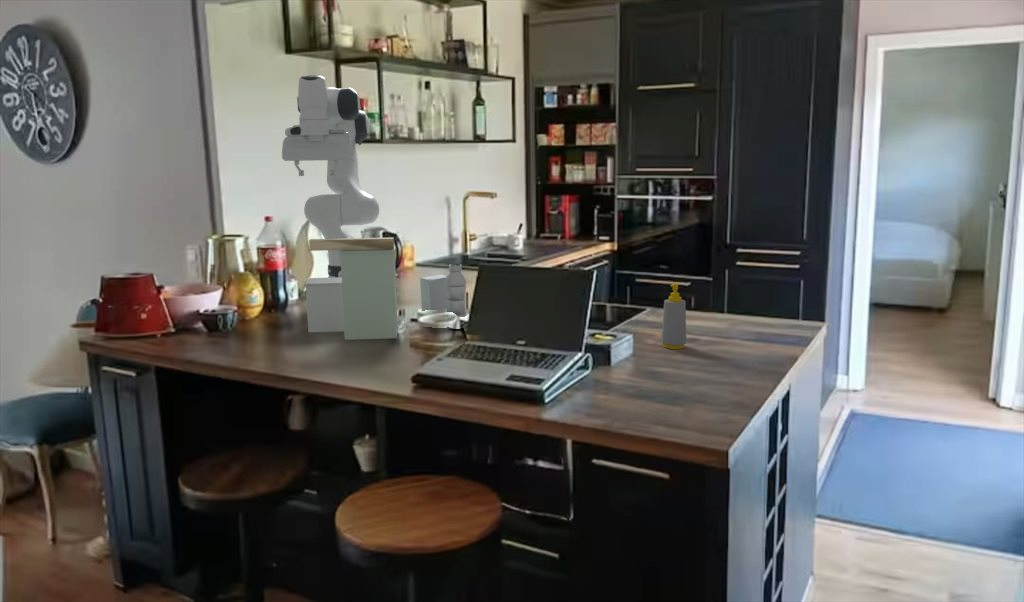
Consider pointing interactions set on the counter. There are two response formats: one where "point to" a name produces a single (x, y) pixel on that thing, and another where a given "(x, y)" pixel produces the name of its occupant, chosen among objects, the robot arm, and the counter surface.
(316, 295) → the grey box
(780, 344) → the counter surface
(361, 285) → the stand
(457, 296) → the plastic bottle
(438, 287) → the skincare box
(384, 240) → the rail
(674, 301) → the soap bottle
